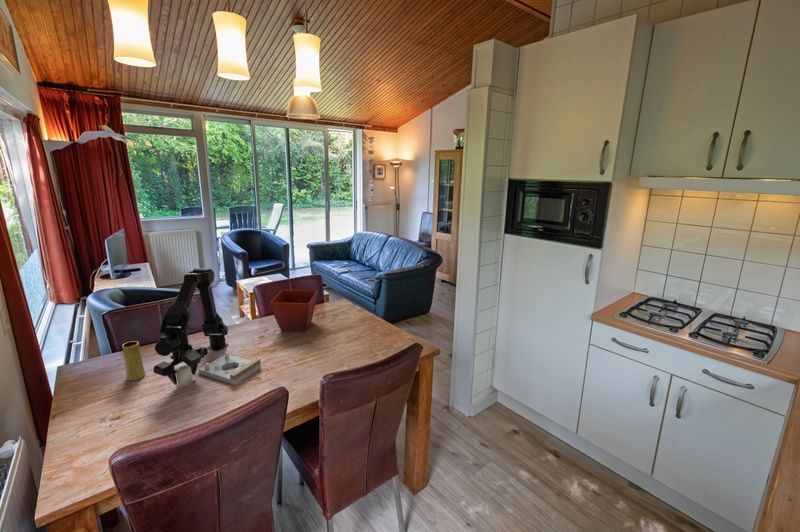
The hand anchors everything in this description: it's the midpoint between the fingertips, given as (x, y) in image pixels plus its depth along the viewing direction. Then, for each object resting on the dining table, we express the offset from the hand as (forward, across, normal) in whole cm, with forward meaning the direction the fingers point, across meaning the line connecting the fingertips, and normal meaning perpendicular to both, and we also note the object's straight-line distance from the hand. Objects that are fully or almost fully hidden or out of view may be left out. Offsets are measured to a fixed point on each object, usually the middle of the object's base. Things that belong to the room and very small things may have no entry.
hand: (184, 379), depth 144 cm
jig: (+2, +14, -8) cm, 16 cm away
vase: (+2, -5, +21) cm, 22 cm away
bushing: (+2, 0, 0) cm, 2 cm away
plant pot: (+2, +61, -5) cm, 61 cm away
